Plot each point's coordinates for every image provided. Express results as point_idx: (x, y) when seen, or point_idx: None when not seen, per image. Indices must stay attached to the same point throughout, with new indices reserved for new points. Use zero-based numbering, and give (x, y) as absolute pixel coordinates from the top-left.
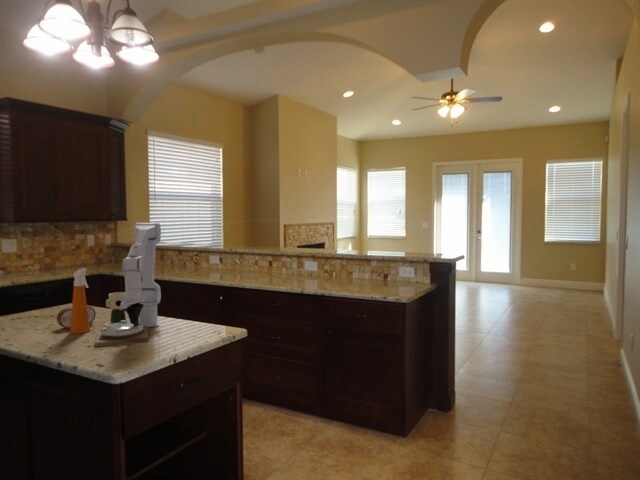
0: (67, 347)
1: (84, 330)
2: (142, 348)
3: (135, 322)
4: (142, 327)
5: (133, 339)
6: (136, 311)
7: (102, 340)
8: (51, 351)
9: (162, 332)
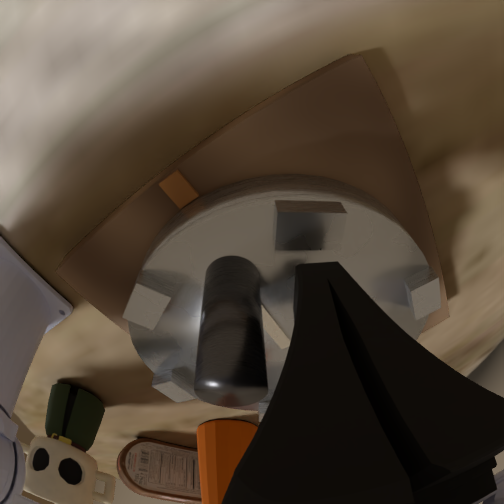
0: None
1: (241, 428)
2: (491, 43)
3: (345, 273)
4: (230, 205)
5: (407, 159)
6: (455, 377)
7: None
8: (453, 368)
9: (68, 98)
